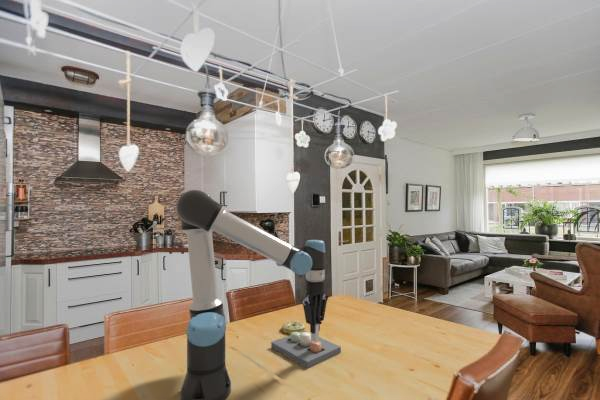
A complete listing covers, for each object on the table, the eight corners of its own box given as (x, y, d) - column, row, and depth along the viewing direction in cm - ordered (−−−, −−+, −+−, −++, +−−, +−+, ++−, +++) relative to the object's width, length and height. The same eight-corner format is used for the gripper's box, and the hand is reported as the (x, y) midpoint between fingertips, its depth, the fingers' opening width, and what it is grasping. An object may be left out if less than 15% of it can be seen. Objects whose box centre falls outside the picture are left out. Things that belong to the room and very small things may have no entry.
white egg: (305, 347, 122) (305, 337, 122) (297, 344, 125) (297, 334, 125) (313, 344, 125) (313, 334, 125) (305, 340, 128) (305, 331, 128)
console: (307, 370, 111) (307, 362, 111) (271, 349, 127) (271, 342, 127) (340, 354, 123) (340, 346, 123) (303, 337, 139) (303, 330, 139)
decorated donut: (308, 330, 148) (308, 322, 148) (297, 338, 138) (297, 329, 138) (289, 325, 153) (289, 318, 153) (277, 333, 143) (277, 325, 143)
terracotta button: (315, 357, 117) (315, 346, 117) (307, 353, 121) (307, 343, 121) (323, 353, 120) (323, 343, 120) (315, 349, 124) (315, 339, 124)
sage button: (295, 346, 126) (295, 337, 126) (288, 343, 130) (288, 333, 130) (303, 343, 129) (303, 334, 129) (296, 340, 133) (296, 330, 133)
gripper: (309, 284, 114) (309, 348, 113) (333, 279, 123) (333, 339, 122) (296, 280, 120) (296, 342, 119) (320, 275, 128) (319, 333, 128)
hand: (314, 340), depth 120 cm, fingers closed
